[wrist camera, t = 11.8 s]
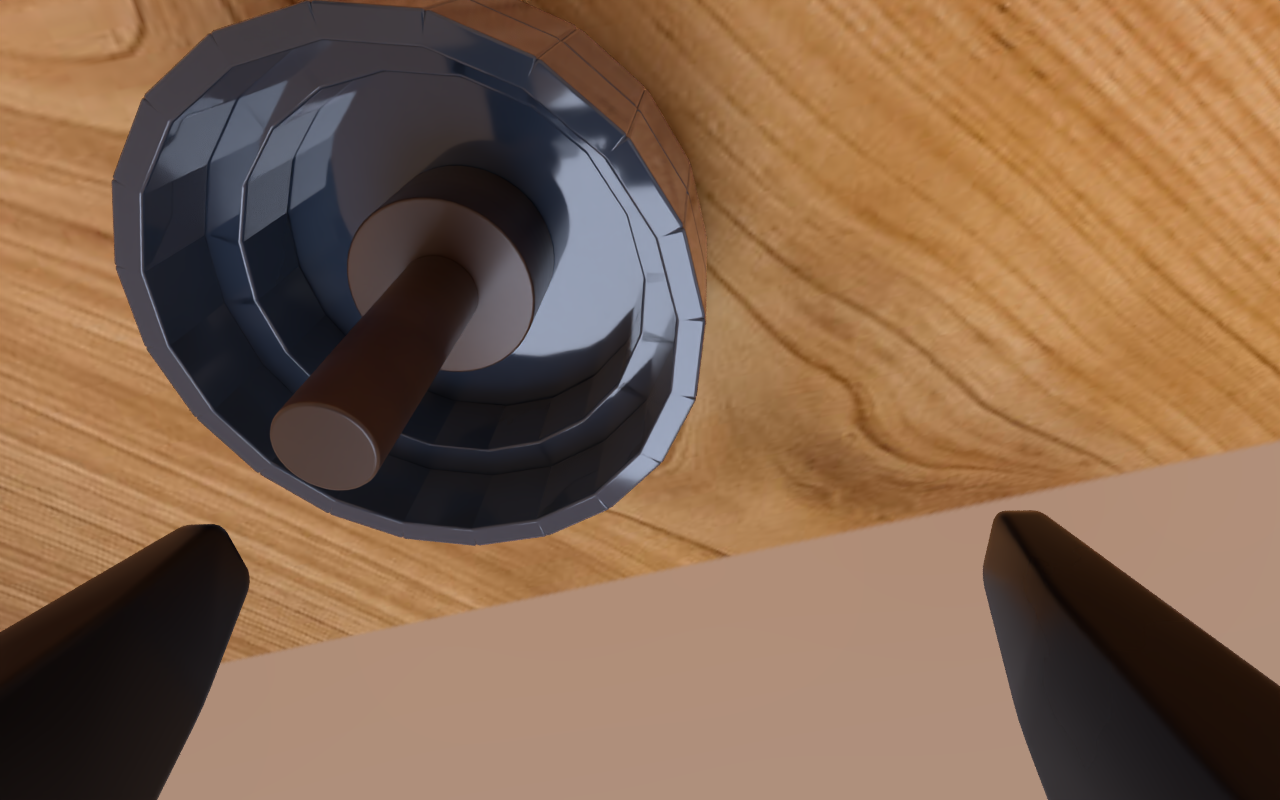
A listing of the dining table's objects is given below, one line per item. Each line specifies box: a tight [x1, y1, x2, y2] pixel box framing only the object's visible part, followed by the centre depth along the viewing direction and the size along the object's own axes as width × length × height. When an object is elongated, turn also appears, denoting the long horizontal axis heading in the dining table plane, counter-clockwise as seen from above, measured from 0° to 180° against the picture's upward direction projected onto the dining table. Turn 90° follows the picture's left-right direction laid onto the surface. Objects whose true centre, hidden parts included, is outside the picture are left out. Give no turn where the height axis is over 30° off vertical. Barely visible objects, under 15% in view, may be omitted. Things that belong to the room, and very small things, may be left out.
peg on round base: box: [270, 166, 554, 490], centre depth 15 cm, size 4×4×8 cm
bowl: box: [112, 0, 707, 546], centre depth 17 cm, size 12×12×5 cm
